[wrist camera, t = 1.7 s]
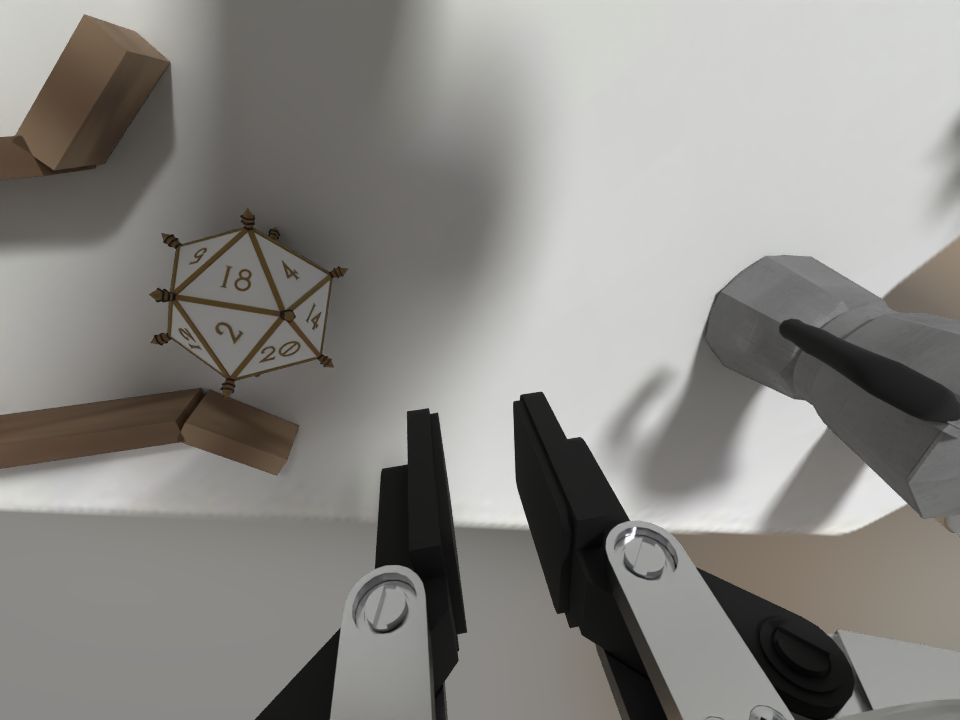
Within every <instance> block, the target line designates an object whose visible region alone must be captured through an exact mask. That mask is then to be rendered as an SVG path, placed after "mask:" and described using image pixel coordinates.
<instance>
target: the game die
mask: <svg viewBox="0 0 960 720" xmlns="http://www.w3.org/2000/svg"><path fill="white" fill-rule="evenodd" d="M240 217H242V221H241V222H242V223H243V224H244V227H243V228H239V229H236V230H232V231H229V232H225V233H221V234H218V235H214V236H210V237H207V238H203V239H200V240H196V241H192V242H189V243H185V244H181V243H180V242H179V241H178V238H175V237H174V235H173V234H172V235H169V234H163V233H161V234H162V237H163V240H164V243H166V244H168V246H169V247H174V248H175V249H176V253H175V260H174V267H173V273H172V280H171V287H170V292H169V291H167V290H166V289H163V290H161V289H160V288H157V290H156V291H154V292H152V293H150V294H149V295H150V296H151V297H153V298H154V299H155V300H156V302H161V301H162V302H167V301H169V312H168V333H166V334H164V333H161V334H159V335H154V338H153V340H152V341H151V343H154V344H160V345H163V344H164V343H168V341H169V340H170V339H173V340H174V341H175V342H177V343H178V344H179V345H181V346H182V347H184V348H185V349H186V350H188V351H189V352H190V353H192V354H193V355H195V356H196V357H197V358H199V359H200V360H201V361H203V362H204V363H206V364H207V365H208V366H210V367H211V368H212V369H214V370H215V371H217V372H218V373H219V374H221V375H222V376H223V377H225V378H226V381H225V383H222V385H223V387H222V388H221V389H220V390H222V392H223V394H224V397H225V399H226V398H227V397H228V396H229V395H230V394H231V393H233V392H234V390H233V389H234V388H235V385H234V381H237V380H240V379H244V378H248V377H252V376H255V377H258V376H259V375H260V374H263V373H267V372H270V371H274V370H278V369H282V368H286V367H289V366H293V365H297V364H301V363H304V362H308V361H312V360H316V359H318V360H319V361H320V362H321V363H320V364H323V365H324V367H333V368H334V366H333V364H332V361H331V359H329V358H328V356H324V355H323V354H322V350H323V342H324V335H325V328H326V321H327V313H328V306H329V299H330V292H331V284H332V278H335V277H337V278H339V277H340V276H342V277H343V275H344V274H345V272H346V271H347V270H348V269H346V268H341V267H339V266H338V268H336V269H335V268H333V269H334V270H333V271H331V272H328V271H327V270H325V269H323V268H322V267H320V266H318V265H317V264H315V263H313V262H311V261H310V260H308V259H306V258H305V257H303V256H301V255H299V254H298V253H296V252H294V251H293V250H291V249H289V248H288V247H286V246H284V245H282V244H281V243H279V242H277V241H276V240H277V239H279V238H278V236H280V234H279V233H278V231H277V229H276V227H275V228H273V229H270V231H269V235H268V236H267V235H265V234H263V233H261V232H260V231H258V230H256V229H254V228H253V225H255V223H254V220H255V217H254V215H252V213H251V212H250V210H249V209H248V208H247V210H246V211H245V212H244V214H243V215H241V216H240Z"/></svg>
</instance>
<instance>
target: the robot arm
mask: <svg viewBox="0 0 960 720" xmlns="http://www.w3.org/2000/svg"><path fill="white" fill-rule="evenodd" d="M513 415H514V443H515V472H516V483H517V488H518V492H519V495H520V499H521V502H522V505H523V508H524V511H525V515H526V518H527V521H528V524H529V528H530V531H531V534H532V537H533V540H534V543H535V547H536V550H537V553H538V556H539V559H540V563H541V566H542V569H543V572H544V575H545V579H546V582H547V585H548V588H549V592H550V595H551V598H552V601H553V605H554V608H555V610H556V612H557V614H560V613H565V615H566V618H567V621H568V624H569V627H570V628H573V627H578V626H579V628H580V631H581V634H582V635H583V636H584V637H586V638H588V639H589V640H591V641H592V642H594V643H595V645H596V650H597V653H598V656H599V658H600V661H601V664H602V667H603V669H604V672H605V675H606V677H607V680H608V683H609V686H610V689H611V692H612V694H613V697H614V700H615V703H616V705H617V708H618V711H619V714H620V716H621V719H622V720H960V652H959V651H954V650H948V649H943V648H937V647H932V646H926V645H921V644H915V643H910V642H904V641H899V640H893V639H888V638H882V637H877V636H871V635H866V634H861V633H855V632H850V631H844V630H839V629H837V630H836V632H835V633H834V634H828V633H825V632H824V631H823V630H821V629H820V628H819V627H818V626H816V625H815V624H813V623H811V622H810V621H808V620H806V619H804V618H803V617H801V616H799V615H797V614H794V613H792V612H790V611H788V610H786V609H784V608H782V607H780V606H777V605H775V604H773V603H771V602H769V601H767V600H765V599H763V598H761V597H758V596H756V595H754V594H752V593H750V592H748V591H746V590H743V589H741V588H739V587H737V586H735V585H733V584H731V583H729V582H726V581H724V580H722V579H720V578H718V577H716V576H714V575H712V574H709V573H707V572H705V571H703V570H701V569H699V568H697V567H695V566H694V564H693V563H692V561H691V560H690V558H689V557H688V555H687V553H686V552H685V550H684V549H683V547H682V546H681V545H680V543H679V542H678V541H677V540H676V539H675V537H674V536H672V535H671V534H670V533H669V532H667V531H666V530H664V529H663V528H661V527H659V526H657V525H654V524H652V523H648V522H643V521H630V520H629V518H628V516H627V514H626V513H625V511H624V509H623V507H622V506H621V504H620V502H619V500H618V499H617V497H616V495H615V493H614V492H613V490H612V488H611V486H610V485H609V483H608V481H607V479H606V477H605V476H604V474H603V472H602V470H601V469H600V467H599V465H598V463H597V462H596V460H595V458H594V456H593V455H592V453H591V451H590V449H589V448H588V446H587V444H586V443H585V441H584V440H583V439H582V438H581V437H578V438H571V439H567V438H566V436H565V434H564V432H563V430H562V428H561V426H560V424H559V422H558V421H557V419H556V417H555V415H554V413H553V411H552V409H551V407H550V405H549V403H548V401H547V399H546V397H545V395H544V394H543V392H536V393H529V394H523V395H521V396H520V401H514V402H513ZM407 440H408V465H403V466H397V467H390V468H384V469H382V471H381V482H380V498H379V513H378V531H377V546H376V562H375V569H374V570H372V571H371V572H369V573H368V574H366V575H364V576H363V577H362V578H361V579H360V580H359V581H358V582H357V583H356V584H355V585H354V586H353V588H352V589H351V591H350V593H349V594H348V596H347V598H346V601H345V605H344V609H343V615H342V623H341V628H340V629H339V630H338V631H337V632H336V633H335V634H334V635H333V636H332V638H331V639H330V640H329V641H328V642H327V643H326V644H325V645H324V646H323V647H322V648H321V650H319V651H318V653H317V654H316V655H315V656H314V657H313V658H312V659H311V660H310V661H309V662H308V663H307V664H306V665H305V666H304V667H303V669H302V670H301V671H300V672H299V673H298V674H297V675H296V676H295V677H294V678H293V679H292V680H291V681H290V682H289V684H288V685H287V686H286V687H285V688H284V689H283V690H282V691H281V692H280V693H279V694H278V695H277V696H276V697H275V699H274V700H273V701H272V702H271V703H270V704H269V705H268V706H267V707H266V708H265V709H264V710H263V711H262V712H261V713H260V715H259V716H258V717H257V718H256V719H255V720H448V714H447V701H446V690H445V689H446V688H445V680H446V678H447V677H448V676H449V674H450V673H451V671H452V670H453V668H454V667H455V665H456V664H457V662H458V651H459V645H458V637H457V634H462V633H467V628H466V620H465V612H464V604H463V596H462V588H461V580H460V572H459V565H458V556H457V548H456V540H455V532H454V524H453V516H452V508H451V500H450V492H449V485H448V478H447V472H446V465H445V458H444V451H443V444H442V437H441V430H440V423H439V416H438V413H433V414H430V412H429V408H427V409H421V410H414V411H408V412H407Z"/></svg>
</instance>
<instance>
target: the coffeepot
mask: <svg viewBox="0 0 960 720" xmlns="http://www.w3.org/2000/svg"><path fill="white" fill-rule="evenodd" d="M705 338H706V340H707V341H708V343H709V345H710V347H711V349H712V350H713V352H714V353H715V354H716V355H717V356H718V358H719V359H720V361H721V362H722V364H723V365H724V366H725V367H727V368H729V369H731V370H733V371H736V372H738V373H740V374H742V375H744V376H746V377H748V378H750V379H753V380H755V381H757V382H759V383H761V384H763V385H765V386H767V387H769V388H772V389H774V390H776V391H778V392H780V393H782V394H784V395H786V396H789V397H791V398H793V399H798V400H806V401H807V402H809V403H810V404H812V405H813V406H814V408H815V410H816V412H817V413H818V415H819V416H820V418H821V419H822V421H823V422H824V423H825V424H826V425H827V426H828V427H829V428H830V429H831V430H832V431H833V432H834V433H835V434H836V435H837V436H838V437H839V438H840V439H841V440H842V441H843V442H844V443H845V444H846V445H848V446H849V447H850V448H851V449H852V450H853V451H854V452H855V453H856V454H857V455H858V456H859V457H860V458H861V459H862V460H863V461H864V462H865V463H866V464H867V465H868V466H869V467H870V468H871V469H872V470H873V471H874V472H876V473H877V474H878V475H879V476H880V477H881V478H882V479H883V480H884V481H885V482H886V483H887V484H888V485H889V486H890V487H891V488H892V489H893V490H894V491H895V492H896V493H897V494H898V495H899V496H900V497H901V498H903V499H904V500H905V501H906V502H907V503H908V504H909V505H910V506H911V507H912V508H913V509H914V510H915V511H916V512H917V513H918V514H919V515H920V517H922V518H923V519H927V518H936V517H946V516H955V515H960V321H958V320H953V319H949V318H945V317H940V316H935V315H931V314H920V313H898V312H896V311H893V310H891V309H889V307H888V306H887V304H886V303H885V301H884V300H883V299H881V298H880V297H878V296H876V295H875V294H873V293H871V292H870V291H868V290H866V289H864V288H863V287H861V286H859V285H858V284H856V283H854V282H853V281H851V280H849V279H848V278H846V277H844V276H843V275H841V274H839V273H838V272H836V271H834V270H833V269H831V268H829V267H828V266H826V265H824V264H823V263H821V262H819V261H818V260H816V259H814V258H813V257H803V256H789V255H781V256H765V257H763V258H762V259H760V260H758V261H757V262H755V263H754V264H752V265H750V266H749V267H747V268H746V269H744V270H743V271H741V272H740V273H739V274H738V275H737V276H736V277H734V278H733V279H732V280H731V281H730V282H729V283H728V284H727V286H726V287H725V288H724V289H723V290H722V291H721V292H720V293H719V295H718V297H717V299H716V301H715V303H714V305H713V307H712V310H711V312H710V315H709V319H708V323H707V333H706V335H705Z"/></svg>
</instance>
